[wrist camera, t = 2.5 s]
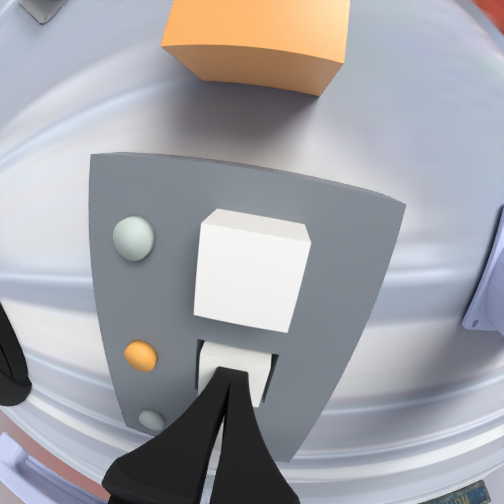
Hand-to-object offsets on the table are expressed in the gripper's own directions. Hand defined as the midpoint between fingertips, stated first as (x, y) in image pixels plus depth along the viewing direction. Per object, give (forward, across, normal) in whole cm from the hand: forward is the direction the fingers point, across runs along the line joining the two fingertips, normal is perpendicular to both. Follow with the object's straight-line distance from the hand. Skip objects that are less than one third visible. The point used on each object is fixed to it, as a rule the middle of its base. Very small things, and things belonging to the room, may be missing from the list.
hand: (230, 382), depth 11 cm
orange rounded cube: (+3, +1, -15) cm, 15 cm away
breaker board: (+3, +1, 0) cm, 3 cm away
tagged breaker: (+3, 0, 0) cm, 3 cm away
